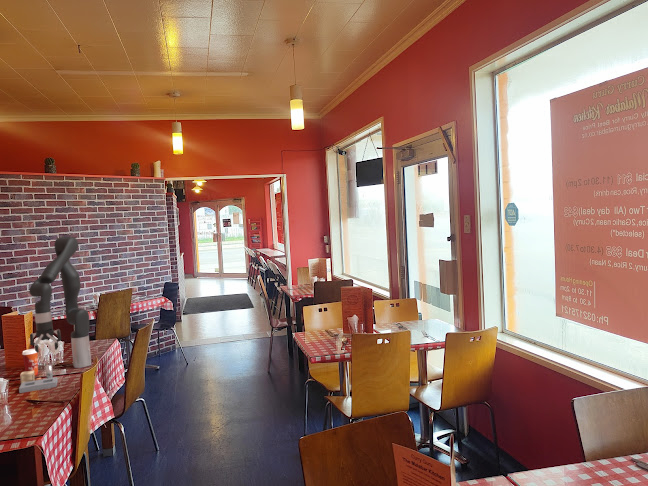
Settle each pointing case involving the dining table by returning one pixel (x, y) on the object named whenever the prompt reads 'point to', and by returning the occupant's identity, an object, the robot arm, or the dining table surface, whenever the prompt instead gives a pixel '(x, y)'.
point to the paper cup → (31, 360)
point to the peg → (49, 371)
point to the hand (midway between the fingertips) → (47, 350)
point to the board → (38, 385)
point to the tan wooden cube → (27, 376)
